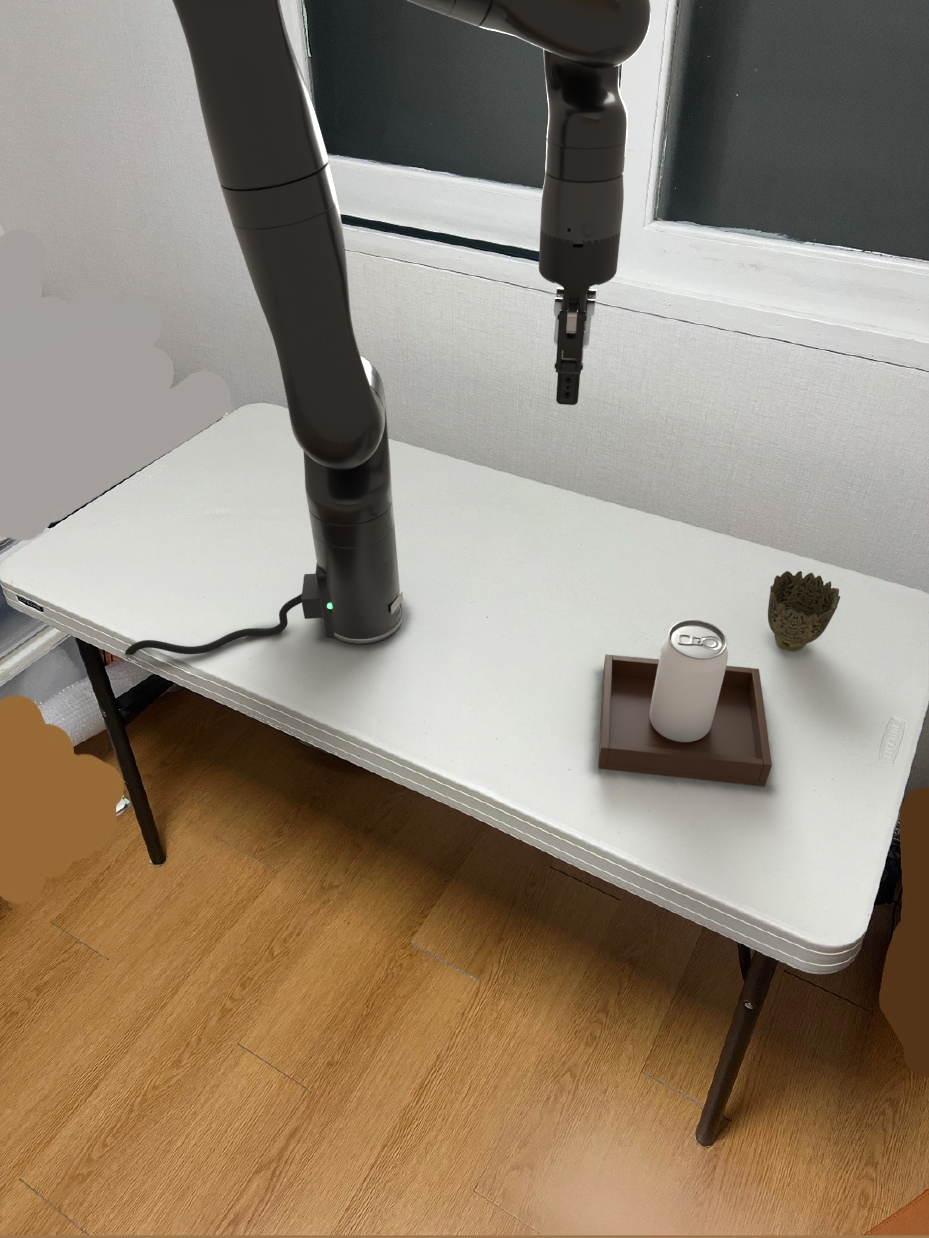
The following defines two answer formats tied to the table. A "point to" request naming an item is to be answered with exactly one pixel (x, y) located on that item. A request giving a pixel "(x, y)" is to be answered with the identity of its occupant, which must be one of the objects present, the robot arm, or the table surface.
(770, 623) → the cup
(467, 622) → the table surface
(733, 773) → the tray
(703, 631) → the can
